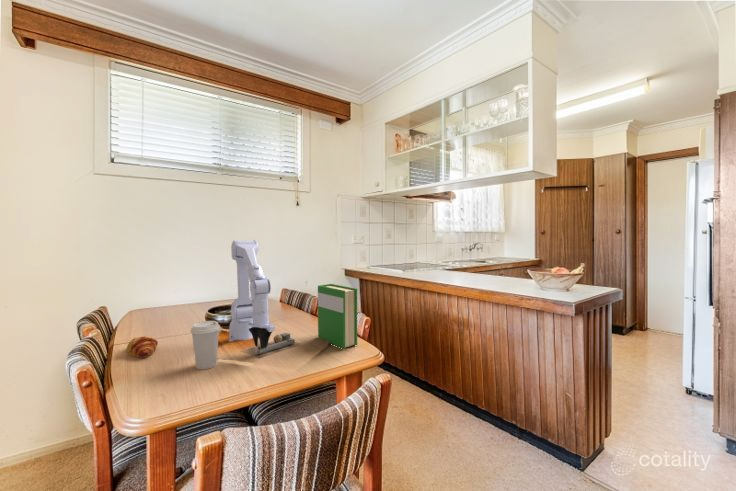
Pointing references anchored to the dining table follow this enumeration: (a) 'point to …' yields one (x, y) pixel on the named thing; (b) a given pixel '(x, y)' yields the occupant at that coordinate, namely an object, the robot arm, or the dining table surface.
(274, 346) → the lever
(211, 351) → the coffee cup
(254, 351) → the base
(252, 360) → the dining table surface
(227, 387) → the dining table surface
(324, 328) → the hardback book
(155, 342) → the croissant
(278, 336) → the tan wooden ball
